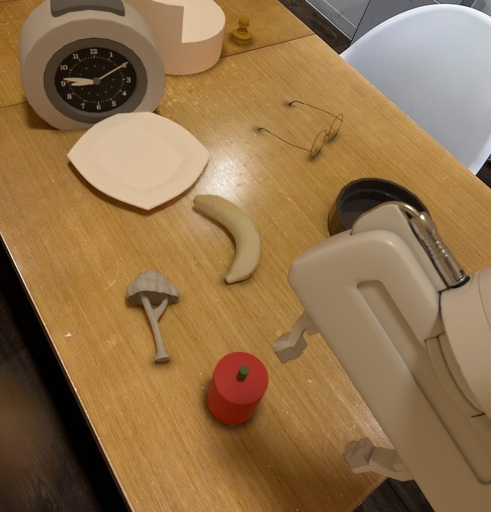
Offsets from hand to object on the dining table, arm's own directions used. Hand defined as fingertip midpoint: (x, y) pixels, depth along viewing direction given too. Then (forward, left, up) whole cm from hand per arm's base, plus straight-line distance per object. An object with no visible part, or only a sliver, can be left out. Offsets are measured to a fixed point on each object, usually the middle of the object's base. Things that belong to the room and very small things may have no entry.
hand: (314, 404), depth 36 cm
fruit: (+26, -20, -24) cm, 41 cm away
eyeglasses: (+35, -48, -24) cm, 64 cm away
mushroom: (+22, -4, -24) cm, 33 cm away
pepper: (+8, -4, -24) cm, 25 cm away
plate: (+45, -20, -24) cm, 55 cm away
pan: (+12, -40, -24) cm, 48 cm away
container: (+68, -46, -24) cm, 86 cm away
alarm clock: (+59, -22, -24) cm, 67 cm away
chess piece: (+62, -60, -24) cm, 90 cm away
